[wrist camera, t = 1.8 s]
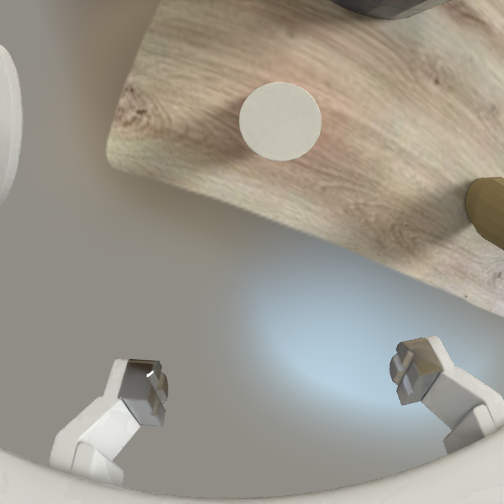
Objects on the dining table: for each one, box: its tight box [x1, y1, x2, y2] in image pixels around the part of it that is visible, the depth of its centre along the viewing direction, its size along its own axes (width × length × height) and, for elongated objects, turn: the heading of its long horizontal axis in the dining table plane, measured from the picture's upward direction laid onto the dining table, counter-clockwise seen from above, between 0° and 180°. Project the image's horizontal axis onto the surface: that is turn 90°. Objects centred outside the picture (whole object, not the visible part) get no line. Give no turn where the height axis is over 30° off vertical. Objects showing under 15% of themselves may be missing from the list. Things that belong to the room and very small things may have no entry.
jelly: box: [239, 82, 322, 161], centre depth 23 cm, size 6×6×8 cm
